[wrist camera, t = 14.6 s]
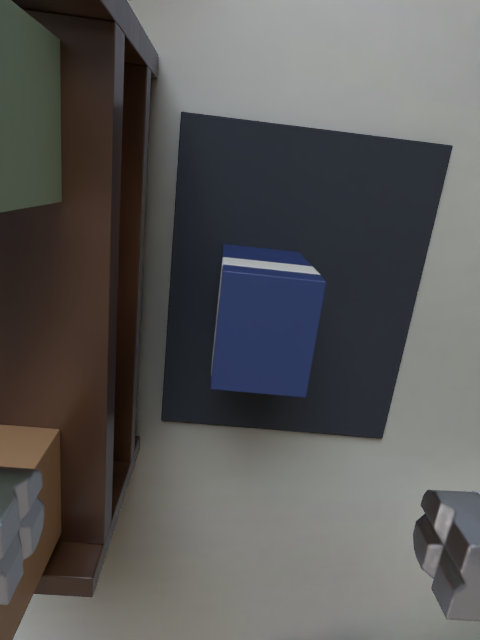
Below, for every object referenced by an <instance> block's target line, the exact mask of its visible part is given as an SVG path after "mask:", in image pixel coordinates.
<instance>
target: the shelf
mask: <svg viewBox="0 0 480 640" xmlns="http://www.w3.org/2000/svg"><path fill="white" fill-rule="evenodd" d="M11 1H12V2H14V3H15V4H16V5H17V6H19V7H20V8H21V9H22V10H24V11H25V12H26V13H27V14H29V15H30V16H31V17H32V18H34V19H35V20H36V21H37V22H39V23H40V24H41V25H42V26H44V27H45V28H46V29H47V30H49V31H50V32H51V33H52V34H54V35H55V36H56V37H57V38H59V39H60V81H61V169H62V202H58V203H52V204H46V205H40V206H35V207H29V208H23V209H17V210H12V211H6V212H0V424H1V425H14V426H26V427H39V428H52V429H60V471H61V535H60V537H59V539H58V541H57V543H56V546H55V548H54V550H53V552H52V554H51V556H50V559H49V561H48V563H47V565H46V567H45V570H44V572H43V574H42V576H41V578H40V580H39V583H38V585H37V587H36V589H35V591H34V594H47V595H64V596H82V597H92V596H93V594H94V591H95V588H96V585H97V581H98V578H99V575H100V572H101V569H102V565H103V562H104V559H105V556H106V553H107V550H108V546H109V543H110V540H111V537H112V534H113V531H114V527H115V524H116V521H117V518H118V515H119V511H120V508H121V505H122V502H123V499H124V496H125V492H126V489H127V486H128V483H129V480H130V477H131V473H132V470H133V467H134V464H135V461H136V457H137V454H138V451H139V440H140V437H139V436H135V425H136V403H137V380H138V358H139V336H140V313H141V291H142V268H143V246H144V223H145V201H146V178H147V156H148V133H149V111H150V89H151V77H152V78H157V68H158V54H157V52H156V50H155V49H154V47H153V45H152V43H151V42H150V40H149V38H148V36H147V35H146V33H145V31H144V29H143V28H142V26H141V24H140V22H139V21H138V19H137V17H136V15H135V14H134V12H133V10H132V8H131V7H130V5H129V3H128V1H127V0H11Z"/></svg>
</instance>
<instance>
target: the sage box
mask: <svg viewBox="0 0 480 640" xmlns="http://www.w3.org/2000/svg"><path fill="white" fill-rule="evenodd" d="M58 202H62V169H61V81H60V39H59V38H57V37H56V36H55V35H54V34H52V33H51V32H50V31H49V30H47V29H46V28H45V27H44V26H42V25H41V24H40V23H39V22H37V21H36V20H35V19H34V18H32V17H31V16H30V15H29V14H27V13H26V12H25V11H24V10H22V9H21V8H20V7H19V6H17V5H16V4H15V3H14V2H12V1H11V0H0V212H6V211H12V210H17V209H23V208H29V207H35V206H40V205H46V204H52V203H58Z"/></svg>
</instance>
